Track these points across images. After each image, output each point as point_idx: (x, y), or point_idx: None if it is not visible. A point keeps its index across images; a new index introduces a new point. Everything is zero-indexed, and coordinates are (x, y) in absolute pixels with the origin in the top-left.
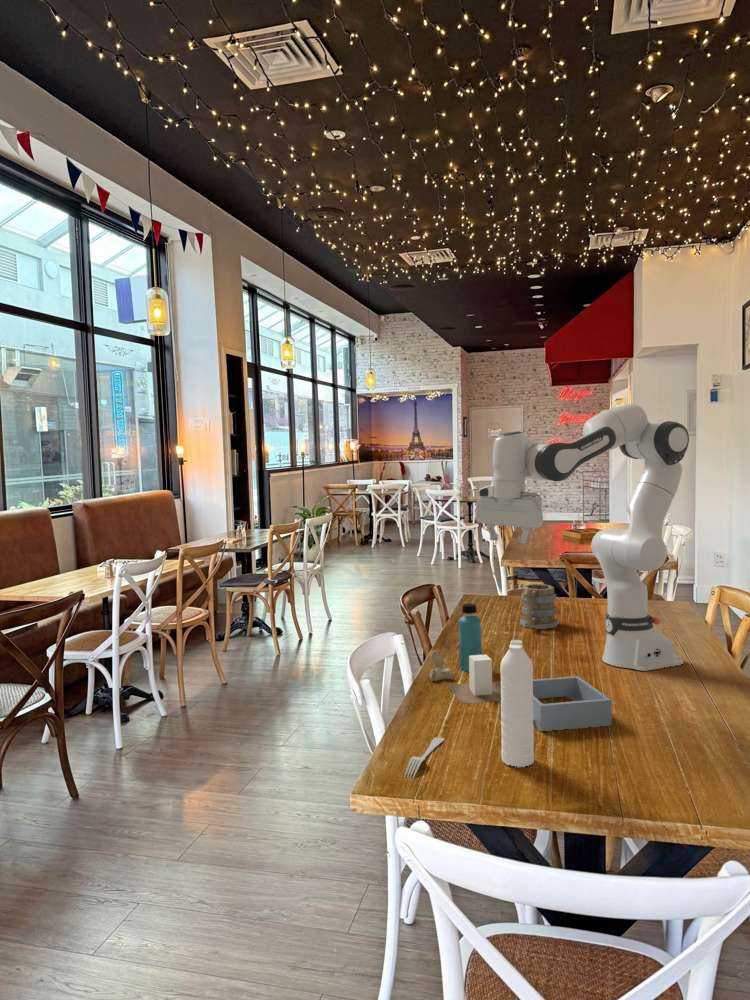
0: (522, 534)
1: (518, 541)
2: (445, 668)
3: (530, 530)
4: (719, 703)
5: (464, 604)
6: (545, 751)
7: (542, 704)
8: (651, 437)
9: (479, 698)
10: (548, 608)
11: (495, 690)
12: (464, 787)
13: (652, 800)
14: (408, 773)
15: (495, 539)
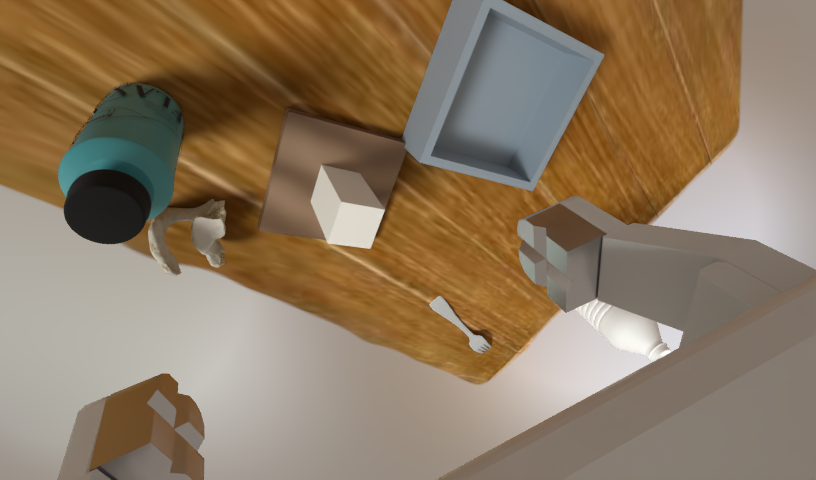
0: (644, 312)
1: (536, 280)
2: (196, 223)
3: (759, 242)
4: None
5: (86, 232)
6: (545, 201)
7: (531, 184)
8: None
9: None
10: None
11: (343, 154)
12: (533, 311)
13: (670, 168)
14: (485, 350)
15: (188, 408)
